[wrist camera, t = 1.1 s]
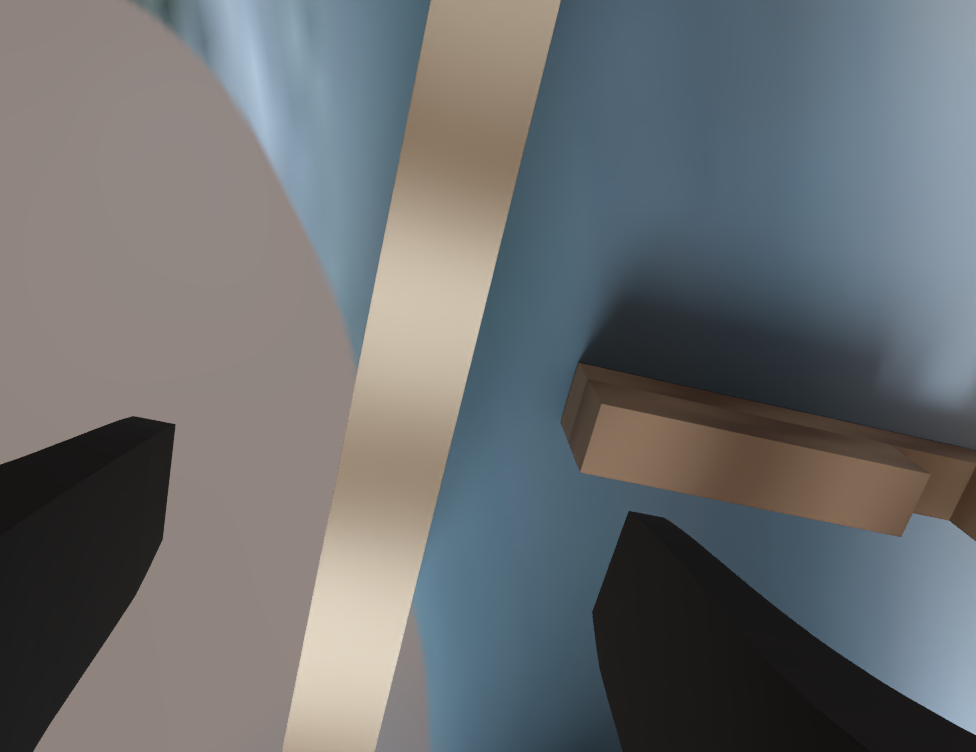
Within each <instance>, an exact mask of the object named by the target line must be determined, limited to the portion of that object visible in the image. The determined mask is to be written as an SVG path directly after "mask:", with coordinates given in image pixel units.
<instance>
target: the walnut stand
mask: <svg viewBox="0 0 976 752" xmlns="http://www.w3.org/2000/svg"><path fill="white" fill-rule="evenodd" d="M561 425H562V427H563V430H564V432H565V435H566V437H567V440H568V443H569V445H570V448H571V450H572V453H573V455H574V458H575V461H576V463H577V466H578V468H579V471H580V472H581V473H586V474H590V475H595V476H600V477H605V478H610V479H615V480H620V481H625V482H630V483H635V484H640V485H645V486H650V487H655V488H660V489H665V490H670V491H675V492H680V493H685V494H690V495H695V496H700V497H705V498H710V499H715V500H720V501H725V502H730V503H735V504H740V505H745V506H750V507H755V508H760V509H765V510H770V511H774V512H779V513H784V514H789V515H794V516H799V517H804V518H809V519H814V520H819V521H824V522H829V523H834V524H839V525H844V526H849V527H854V528H859V529H864V530H869V531H874V532H879V533H884V534H889V535H894V536H899V537H901V536H902V534H903V532H904V530H905V528H906V526H907V523H908V521H909V519H910V517H911V515H912V513H916V514H921V515H926V516H930V517H935V518H940V519H945V520H949V521H951V522H952V523H953V524H954V525H956V526H957V527H958V528H960V529H961V530H962V531H963V532H965V533H966V534H967V535H969V536H970V537H971V538H972V539H974V540H975V541H976V450H972V449H967V448H962V447H958V446H953V445H949V444H944V443H940V442H935V441H931V440H926V439H922V438H917V437H913V436H908V435H904V434H899V433H895V432H890V431H886V430H881V429H877V428H872V427H867V426H863V425H858V424H854V423H849V422H845V421H840V420H836V419H831V418H827V417H822V416H818V415H813V414H809V413H804V412H800V411H795V410H791V409H786V408H782V407H777V406H772V405H768V404H763V403H759V402H754V401H750V400H745V399H741V398H736V397H732V396H727V395H723V394H718V393H714V392H709V391H705V390H700V389H696V388H691V387H687V386H682V385H677V384H673V383H668V382H664V381H659V380H655V379H650V378H646V377H641V376H637V375H632V374H628V373H623V372H619V371H614V370H610V369H605V368H601V367H596V366H592V365H587V364H582V363H578V365H577V368H576V372H575V375H574V378H573V382H572V385H571V389H570V392H569V395H568V399H567V402H566V406H565V409H564V412H563V416H562V419H561Z"/></svg>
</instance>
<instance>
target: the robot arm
mask: <svg viewBox="0 0 976 752" xmlns="http://www.w3.org/2000/svg"><path fill="white" fill-rule="evenodd" d="M174 433H175V424H171V423H166V422H161V421H156V420H150V419H145V418H140V417H134V416H133V417H129V418H125V419H122V420H119V421H116V422H113V423H111V424H108V425H105V426H102V427H100V428H97V429H94V430H92V431H89V432H87V433H84V434H81V435H79V436H76V437H74V438H71V439H69V440H66V441H63V442H61V443H58V444H55V445H53V446H50V447H48V448H45V449H42V450H40V451H38V452H35V453H32V454H29V455H27V456H24V457H21V458H19V459H16V460H13V461H10V462H7V463H4V464H1V465H0V752H33V751H34V749H35V747H36V746H37V744H38V742H39V741H40V739H41V738H42V736H43V734H44V733H45V731H46V729H47V728H48V726H49V724H50V723H51V721H52V720H53V719H54V717H55V715H56V714H57V713H58V711H59V710H60V708H61V707H62V705H63V704H64V702H65V701H66V699H67V698H68V696H69V694H70V693H71V692H72V690H73V689H74V687H75V686H76V684H77V683H78V681H79V680H80V678H81V677H82V675H83V674H84V672H85V671H86V669H87V668H88V666H89V665H90V663H91V662H92V660H93V659H94V657H95V656H96V654H97V653H98V652H99V650H100V648H101V647H102V646H103V644H104V643H105V641H106V640H107V638H108V637H109V635H110V634H111V632H112V631H113V629H114V627H115V626H116V624H117V623H118V621H119V620H120V618H121V617H122V615H123V614H124V612H125V611H126V609H127V608H128V606H129V604H130V603H131V602H132V600H133V598H134V597H135V595H136V593H137V591H138V589H139V587H140V585H141V583H142V581H143V579H144V577H145V575H146V573H147V571H148V569H149V567H150V565H151V563H152V561H153V559H154V557H155V555H156V552H157V550H158V548H159V546H160V544H161V542H162V540H163V531H164V522H165V513H166V504H167V495H168V486H169V478H170V468H171V460H172V451H173V441H174ZM592 614H593V623H594V631H595V640H596V647H597V654H598V660H599V667H600V671H601V675H602V679H603V683H604V687H605V690H606V694H607V697H608V701H609V705H610V708H611V712H612V715H613V719H614V722H615V726H616V729H617V733H618V736H619V740H620V743H621V747H622V750H623V752H976V735H974V734H972V733H970V732H968V731H966V730H965V729H963V728H961V727H959V726H957V725H955V724H953V723H952V722H950V721H948V720H946V719H945V718H943V717H941V716H939V715H938V714H936V713H934V712H932V711H930V710H929V709H927V708H925V707H923V706H922V705H920V704H918V703H916V702H915V701H913V700H911V699H909V698H908V697H906V696H904V695H903V694H901V693H899V692H898V691H896V690H894V689H893V688H891V687H889V686H888V685H886V684H884V683H883V682H881V681H880V680H878V679H876V678H875V677H873V676H872V675H870V674H869V673H867V672H866V671H864V670H863V669H861V668H860V667H858V666H857V665H855V664H854V663H852V662H851V661H849V660H848V659H846V658H845V657H843V656H842V655H840V654H839V653H837V652H836V651H834V650H833V649H831V648H830V647H828V646H827V645H826V644H824V643H823V642H821V641H820V640H819V639H817V638H816V637H814V636H813V635H812V634H810V633H809V632H808V631H806V630H805V629H804V628H802V627H801V626H800V625H798V624H797V623H796V622H795V621H793V620H792V619H791V618H789V617H788V616H787V615H785V614H784V613H783V612H781V611H780V610H779V609H777V608H776V607H775V606H774V605H772V604H771V603H770V602H769V601H767V600H766V599H765V598H764V597H762V596H761V595H760V594H759V593H758V592H756V591H755V590H754V589H753V588H751V587H750V586H749V585H748V584H747V583H745V582H744V581H743V580H742V579H741V578H739V577H738V576H737V575H736V574H735V573H733V572H732V571H731V570H730V569H729V568H727V567H726V566H725V565H724V564H723V563H721V562H720V561H719V560H718V559H717V558H716V557H714V556H713V555H712V554H711V553H710V552H708V551H707V550H706V549H705V548H704V547H702V546H701V545H700V544H699V543H698V542H696V541H695V540H694V539H693V538H691V537H690V536H689V535H688V534H686V533H685V532H684V531H682V530H681V529H680V528H678V527H677V526H676V525H674V524H673V523H671V522H670V521H668V520H667V519H665V518H663V517H657V516H652V515H647V514H642V513H637V512H631V511H629V512H628V515H627V517H626V520H625V523H624V526H623V529H622V531H621V534H620V537H619V540H618V542H617V545H616V548H615V551H614V553H613V556H612V559H611V562H610V564H609V567H608V570H607V573H606V575H605V578H604V581H603V584H602V587H601V589H600V592H599V595H598V598H597V600H596V603H595V606H594V609H593V611H592Z"/></svg>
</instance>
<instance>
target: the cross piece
mask: <svg viewBox="0 0 976 752" xmlns="http://www.w3.org/2000/svg"><path fill="white" fill-rule="evenodd" d="M560 2H561V0H431V3H430V8H429V13H428V18H427V23H426V28H425V33H424V38H423V43H422V48H421V53H420V58H419V63H418V68H417V73H416V78H415V83H414V88H413V94H412V99H411V104H410V109H409V114H408V119H407V124H406V129H405V134H404V139H403V144H402V149H401V154H400V159H399V164H398V169H397V174H396V179H395V184H394V189H393V194H392V199H391V205H390V210H389V215H388V220H387V225H386V230H385V235H384V240H383V245H382V250H381V255H380V260H379V265H378V270H377V275H376V280H375V285H374V290H373V295H372V300H371V305H370V310H369V315H368V321H367V326H366V331H365V336H364V341H363V346H362V351H361V356H360V361H359V366H358V371H357V376H356V381H355V386H354V391H353V396H352V401H351V406H350V412H349V417H348V422H347V427H346V432H345V437H344V442H343V447H342V452H341V457H340V462H339V467H338V472H337V477H336V482H335V487H334V492H333V497H332V502H331V507H330V512H329V517H328V522H327V528H326V532H325V538H324V543H323V548H322V553H321V558H320V563H319V568H318V573H317V578H316V583H315V588H314V593H313V598H312V603H311V608H310V613H309V618H308V623H307V628H306V633H305V639H304V644H303V648H302V653H301V659H300V664H299V669H298V674H297V679H296V684H295V689H294V694H293V700H292V704H291V709H290V714H289V719H288V725H287V729H286V734H285V739H284V744H283V750H282V752H375V747H376V744H377V739H378V736H379V731H380V727H381V723H382V719H383V715H384V711H385V707H386V703H387V699H388V695H389V691H390V687H391V683H392V678H393V675H394V671H395V667H396V663H397V659H398V655H399V651H400V647H401V643H402V639H403V635H404V631H405V627H406V623H407V619H408V614H409V611H410V607H411V603H412V598H413V594H414V590H415V586H416V582H417V578H418V574H419V570H420V566H421V562H422V558H423V554H424V550H425V546H426V542H427V538H428V534H429V530H430V526H431V522H432V518H433V514H434V510H435V506H436V502H437V498H438V494H439V490H440V486H441V482H442V478H443V474H444V469H445V465H446V461H447V457H448V453H449V449H450V445H451V441H452V437H453V433H454V429H455V425H456V421H457V417H458V413H459V409H460V405H461V401H462V397H463V393H464V389H465V385H466V381H467V377H468V373H469V369H470V365H471V361H472V357H473V353H474V349H475V345H476V341H477V336H478V332H479V328H480V324H481V320H482V316H483V312H484V308H485V304H486V300H487V296H488V292H489V288H490V284H491V280H492V276H493V272H494V268H495V264H496V260H497V256H498V252H499V248H500V244H501V240H502V236H503V232H504V228H505V224H506V220H507V216H508V212H509V207H510V203H511V199H512V195H513V191H514V187H515V183H516V179H517V175H518V171H519V167H520V163H521V159H522V155H523V151H524V147H525V143H526V139H527V135H528V131H529V127H530V123H531V119H532V115H533V111H534V107H535V103H536V99H537V95H538V91H539V87H540V83H541V79H542V74H543V70H544V66H545V62H546V58H547V54H548V50H549V46H550V42H551V38H552V34H553V30H554V26H555V22H556V18H557V14H558V10H559V6H560Z"/></svg>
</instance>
